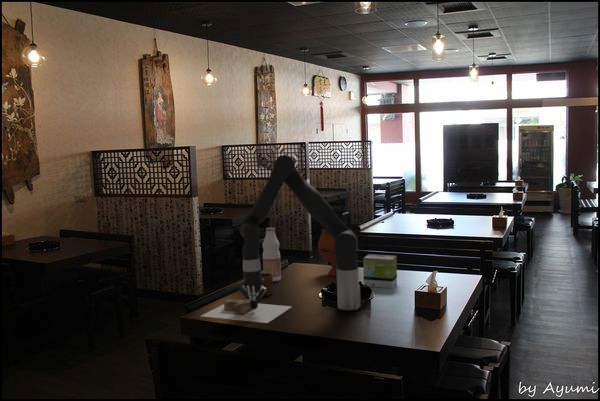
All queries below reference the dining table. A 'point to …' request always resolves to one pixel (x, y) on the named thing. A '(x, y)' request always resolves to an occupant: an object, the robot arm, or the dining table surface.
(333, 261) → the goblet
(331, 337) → the dining table surface
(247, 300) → the t block
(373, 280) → the tea box
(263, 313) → the mat
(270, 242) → the fruit juice
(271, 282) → the mug
